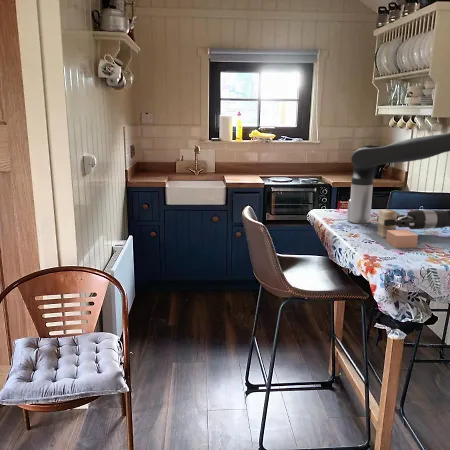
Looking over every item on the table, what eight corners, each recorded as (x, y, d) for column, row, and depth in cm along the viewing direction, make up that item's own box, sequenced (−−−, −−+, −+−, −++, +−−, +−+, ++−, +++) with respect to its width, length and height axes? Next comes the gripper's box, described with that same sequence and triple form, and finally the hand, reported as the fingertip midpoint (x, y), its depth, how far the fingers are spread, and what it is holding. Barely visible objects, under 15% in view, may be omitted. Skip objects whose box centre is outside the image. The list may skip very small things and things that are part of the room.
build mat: (387, 251, 164) (387, 249, 164) (363, 234, 186) (363, 232, 186) (427, 249, 165) (428, 248, 165) (398, 233, 187) (398, 231, 187)
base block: (395, 247, 165) (396, 235, 164) (385, 241, 173) (386, 230, 172) (416, 247, 166) (417, 235, 165) (406, 241, 174) (407, 229, 173)
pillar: (382, 237, 179) (384, 212, 177) (377, 233, 184) (379, 209, 182) (394, 236, 180) (396, 211, 177) (389, 233, 185) (391, 209, 182)
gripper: (413, 206, 188) (374, 207, 186) (432, 214, 174) (389, 215, 173) (412, 224, 190) (372, 225, 188) (430, 233, 176) (388, 234, 174)
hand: (381, 220), depth 180 cm, fingers open, 6 cm apart
